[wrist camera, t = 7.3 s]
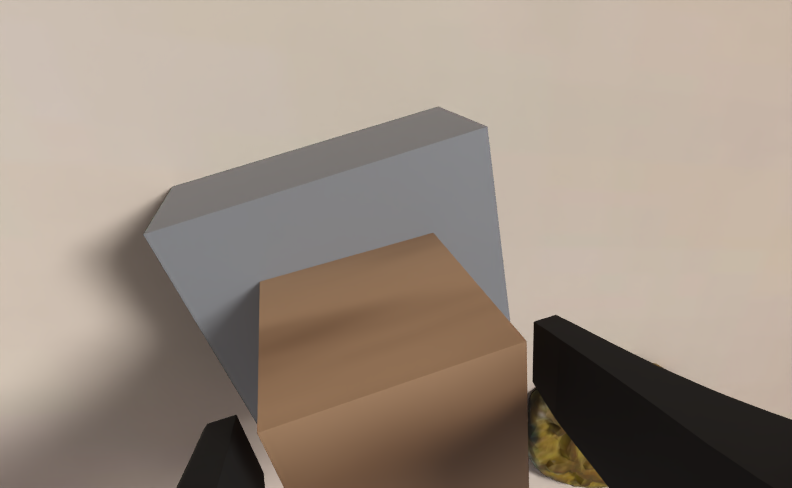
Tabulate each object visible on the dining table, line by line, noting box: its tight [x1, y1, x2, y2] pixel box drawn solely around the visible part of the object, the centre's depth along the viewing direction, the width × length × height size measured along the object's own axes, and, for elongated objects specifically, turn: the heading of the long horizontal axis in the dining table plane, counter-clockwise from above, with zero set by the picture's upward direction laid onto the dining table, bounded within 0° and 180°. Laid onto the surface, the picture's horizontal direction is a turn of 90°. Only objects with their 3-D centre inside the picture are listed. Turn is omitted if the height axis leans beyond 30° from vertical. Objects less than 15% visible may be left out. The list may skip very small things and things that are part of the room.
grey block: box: [143, 107, 510, 423], centre depth 15 cm, size 9×9×4 cm
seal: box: [528, 363, 661, 488], centre depth 24 cm, size 9×5×15 cm
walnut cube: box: [257, 233, 529, 488], centre depth 11 cm, size 5×5×5 cm
